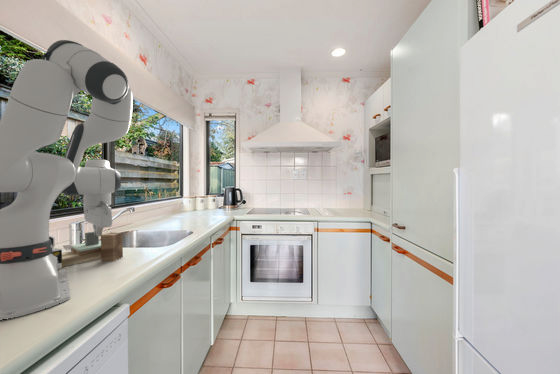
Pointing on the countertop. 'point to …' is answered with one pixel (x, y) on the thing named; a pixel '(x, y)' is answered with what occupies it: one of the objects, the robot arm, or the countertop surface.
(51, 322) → the countertop surface
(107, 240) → the block
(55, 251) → the medicine bottle
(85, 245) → the cover
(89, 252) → the puzzle board
